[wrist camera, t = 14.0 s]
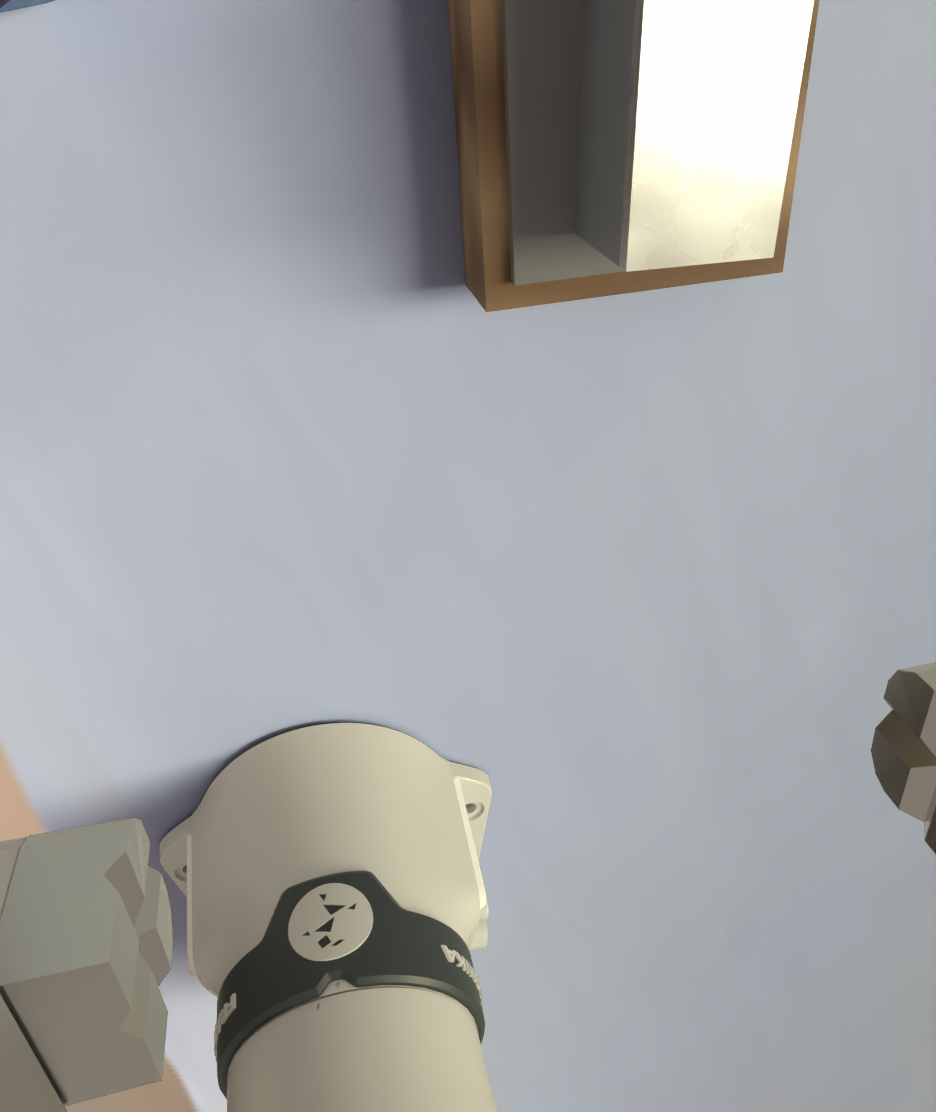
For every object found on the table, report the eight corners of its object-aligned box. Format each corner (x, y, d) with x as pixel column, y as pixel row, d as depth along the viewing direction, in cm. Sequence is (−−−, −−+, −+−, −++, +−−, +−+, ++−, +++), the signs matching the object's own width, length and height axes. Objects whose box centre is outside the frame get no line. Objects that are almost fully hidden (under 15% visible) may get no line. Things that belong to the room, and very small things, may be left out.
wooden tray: (740, 250, 37) (789, 275, 34) (466, 285, 36) (489, 316, 32) (786, -174, 30) (854, -194, 26) (438, -155, 28) (464, -173, 25)
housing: (739, -79, 27) (827, -90, 23) (706, 222, 32) (773, 257, 28) (586, -74, 27) (650, -85, 22) (575, 234, 32) (626, 271, 27)
